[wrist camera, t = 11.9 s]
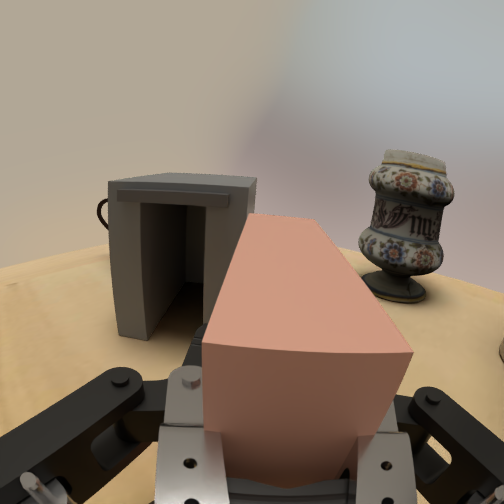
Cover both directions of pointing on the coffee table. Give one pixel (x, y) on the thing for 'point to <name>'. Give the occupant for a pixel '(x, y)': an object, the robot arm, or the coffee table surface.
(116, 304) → the dispenser
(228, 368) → the long pink rectangular prism
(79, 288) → the coffee table surface
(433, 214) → the apothecary jar
